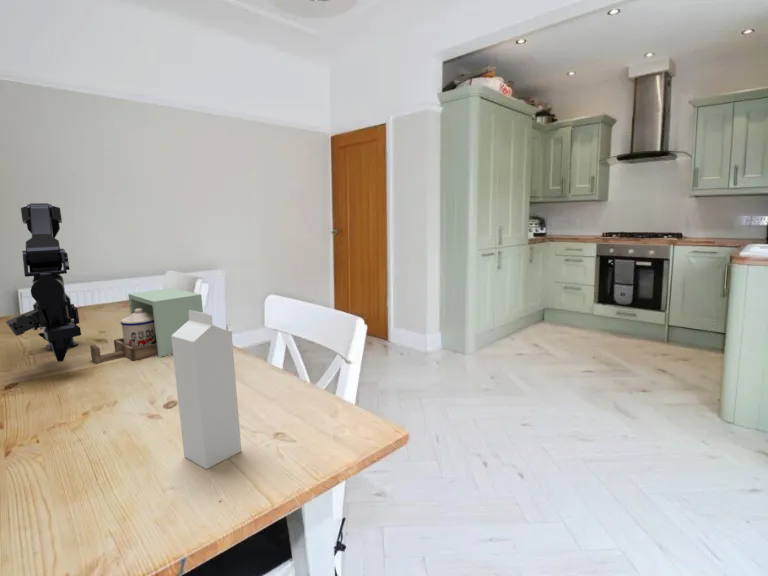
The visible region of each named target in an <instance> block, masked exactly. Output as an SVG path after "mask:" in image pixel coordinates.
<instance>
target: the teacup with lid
mask: <svg viewBox="0 0 768 576" xmlns="http://www.w3.org/2000/svg"><path fill="white" fill-rule="evenodd" d="M120 325H121V329H122V335H123V336H122V338H124V343H125V344H127V345H129V346H131V347H132V348H137V347H142V346H147V345H151V344H156V343H157V341H156V332H155V324H154V315H153V314H149V313H147V312H143V309H135V313H133V314H131V313H130V315H128V316H127V317H124V318H122V319H121V320H120Z"/></svg>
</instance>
